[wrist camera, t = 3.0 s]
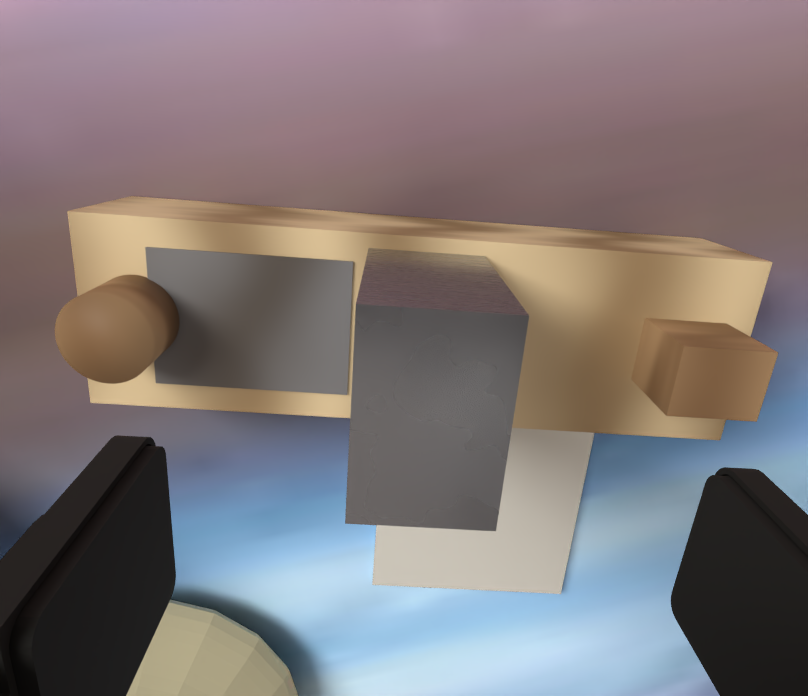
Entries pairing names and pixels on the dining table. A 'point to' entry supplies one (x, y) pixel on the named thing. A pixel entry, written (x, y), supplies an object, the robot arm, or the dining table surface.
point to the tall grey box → (432, 390)
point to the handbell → (208, 658)
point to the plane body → (336, 303)
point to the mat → (501, 526)
